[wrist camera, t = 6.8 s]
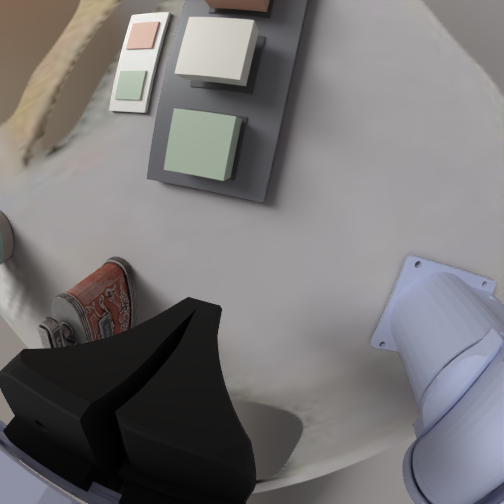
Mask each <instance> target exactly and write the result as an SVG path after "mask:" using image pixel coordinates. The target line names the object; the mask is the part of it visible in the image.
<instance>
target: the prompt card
mask: <svg viewBox="0 0 504 504" xmlns="http://www.w3.org/2000/svg"><path fill="white" fill-rule="evenodd" d="M170 16H171V13H170V12H160V13H147V14H138V15H132V17H131V20H130V23H129V26H128V30H127V33H126V37H125V40H124V44H123V47H122V51H121V55H120V59H119V63H118V67H117V72H116V76H115V81H114V86H113V91H112V96H111V101H110V107H109V111H123V112H139V113H147V111H148V106H149V101H150V96H151V91H152V86H153V82H154V77H155V73H156V68H157V64H158V60H159V56H160V52H161V48H162V44H163V41H164V37H165V33H166V30H167V26H168V23H169V20H170Z"/></svg>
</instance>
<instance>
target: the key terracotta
mask: <svg viewBox="0 0 504 504" xmlns="http://www.w3.org/2000/svg"><path fill="white" fill-rule="evenodd" d="M205 1H206V3H207V4H208V5H209V7H210V8H224V9H240V10H252V11H262V12H267V9H268V5H269V1H270V0H205Z"/></svg>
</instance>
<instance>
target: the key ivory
mask: <svg viewBox="0 0 504 504" xmlns="http://www.w3.org/2000/svg"><path fill="white" fill-rule="evenodd" d="M258 33H259V31H258V29H257V26H256V24H255V21H254V20H247V19H236V18H220V17H189V20H188V23H187V27H186V30H185V34H184V37H183V41H182V45H181V49H180V53H179V57H178V61H177V65H176V69H175V73H174V74H176V75H178V76H180V77H182V78H184V79H186V80H196V81H207V82H216V83H225V84H232V85H240V86H246V84H247V80H248V75H249V71H250V67H251V62H252V58H253V54H254V49H255V45H256V41H257V37H258Z"/></svg>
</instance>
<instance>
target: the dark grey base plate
mask: <svg viewBox="0 0 504 504" xmlns="http://www.w3.org/2000/svg"><path fill="white" fill-rule="evenodd" d="M307 5H308V0H270V1H269V5H268V9H267V12H262V11H252V10H240V9H224V8H210V7H209V5H208V4H207V3H206V1H205V0H185V2H184V6H183V9H182V12H181V15H180V19H179V22H178V25H177V29H176V32H175V36H174V40H173V44H172V47H171V51H170V55H169V59H168V63H167V67H166V72H165V76H164V81H163V85H162V90H161V95H160V100H159V105H158V110H157V115H156V121H155V127H154V133H153V139H152V145H151V152H150V159H149V166H148V174H147V179H150V180H156V181H161V182H166V183H171V184H177V185H182V186H187V187H192V188H197V189H202V190H206V191H211V192H216V193H221V194H225V195H230V196H235V197H239V198H244V199H248V200H252V201H257V202H261V203H264V201H265V199H266V194H267V190H268V185H269V181H270V176H271V171H272V167H273V162H274V158H275V153H276V148H277V144H278V139H279V135H280V130H281V125H282V121H283V116H284V112H285V107H286V102H287V98H288V93H289V89H290V84H291V79H292V75H293V70H294V65H295V61H296V56H297V51H298V47H299V42H300V37H301V33H302V28H303V24H304V19H305V14H306V10H307ZM189 17H220V18H236V19H247V20H254V21H255V24H256V26H257V29H258V31H259V33H258V37H257V41H256V45H255V49H254V54H253V58H252V62H251V67H250V71H249V75H248V80H247V84H246V86H240V85H232V84H225V83H216V82H207V81H196V80H186V79H184V78H182V77H180V76H178V75H176V74H174V73H175V69H176V65H177V61H178V57H179V53H180V49H181V45H182V41H183V37H184V34H185V30H186V27H187V23H188V20H189ZM174 108H176V109H186V110H194V111H202V112H210V113H217V114H224V115H230V116H236V117H238V118H241V119H242V123H241V128H240V132H239V137H238V142H237V147H236V152H235V157H234V162H233V168H232V173H231V178H228V179H226V180H224V181H221V180H216V179H211V178H206V177H201V176H196V175H191V174H185V173H180V172H174V171H169V170H164V164H165V157H166V151H167V145H168V139H169V133H170V127H171V122H172V116H173V111H174Z"/></svg>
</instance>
